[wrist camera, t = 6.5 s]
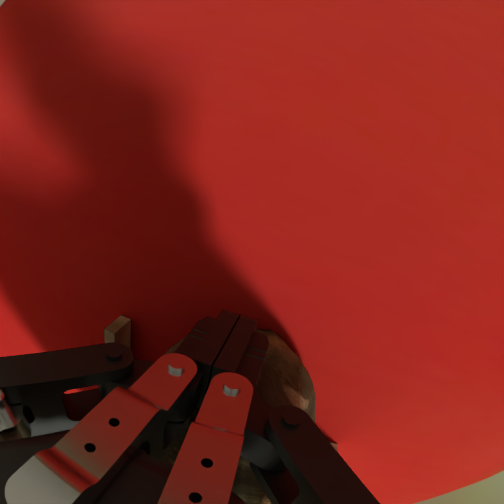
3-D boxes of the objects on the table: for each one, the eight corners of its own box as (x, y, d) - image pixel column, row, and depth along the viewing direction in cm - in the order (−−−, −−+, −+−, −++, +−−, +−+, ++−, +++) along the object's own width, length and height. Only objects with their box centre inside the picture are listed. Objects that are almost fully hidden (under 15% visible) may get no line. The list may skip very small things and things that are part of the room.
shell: (135, 367, 20) (34, 482, 9) (228, 271, 16) (84, 444, 5) (244, 453, 21) (197, 580, 9) (360, 391, 17) (361, 574, 6)
